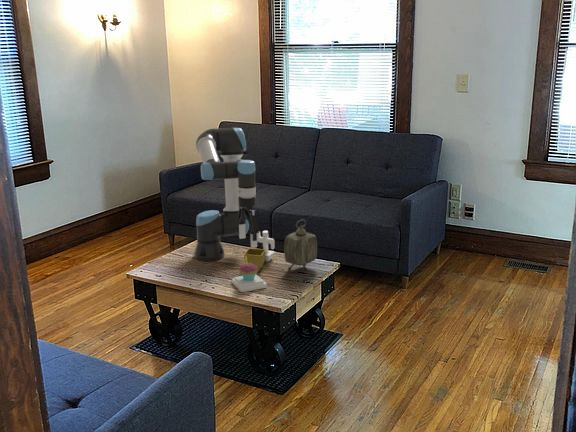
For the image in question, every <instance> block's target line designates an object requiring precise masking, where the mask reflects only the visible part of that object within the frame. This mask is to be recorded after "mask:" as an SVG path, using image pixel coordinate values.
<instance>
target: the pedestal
mask: <svg viewBox="0 0 576 432" xmlns="http://www.w3.org/2000/svg"><path fill="white" fill-rule="evenodd" d="M231 283H232V284H233V286H235V288H237V290H239V291H240V293H246V292H250V291H256V290H260V289H265V288H267V287H268V286H267V285H268V283H267V282H266V281H265V280H263V279H262V278H261V277H260V276H259V275H257V274H256V275H255V278H254V280H251V281H246V280H244V278H243V276H242V275H239V276H234V277H233V278H231Z"/></svg>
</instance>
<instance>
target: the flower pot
mask: <svg viewBox="0 0 576 432" xmlns="http://www.w3.org/2000/svg"><path fill="white" fill-rule="evenodd" d="M265 251H266V250H265V249H263V248H251V247H250V248H247V250H246V251H245V252H244V253H243V258H244V264H246V259H245V255H246V256H247V263H253V264H255V265H256V266H257V267H258V272H259V271H260V270H261V269H262V267H263V265H264V263H265V261H264V260H265Z"/></svg>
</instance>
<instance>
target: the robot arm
mask: <svg viewBox="0 0 576 432" xmlns="http://www.w3.org/2000/svg"><path fill="white" fill-rule="evenodd" d="M195 142H196V143H195V146H196V147H195V148H196V150H197V153H199V154H200V158H201V162H202V163H201V164H200V176H201V179H202V180H204V181H208V180H209V181H212V180H213V181H215V180H216V181H217V180H224V192H225V194H224V195H225V207H224V208H223V209H222V213H220V211H219V210H214V209H211V210H205V211H202V212H200V213H199V214H197V215H196V219H195V220H196V222H195V226H196V239H197V240H196V241H197V243H196V246H195V250H194V255H193V256H194V258H195V260H197V261H200V262H215V261H220V260H221V259H223V258H224V257H225V250H224V247H223V245H222V242H221V237H231V236H238V237H239V239H240V240H241V239H246V234H247V233H249V230H250V233H249V234H250V248H251V249H256V248H257V247H258V241H257V233H259V231H260V228H259V224H258V218H257V210H256V209H254V208H253V207H254V206H256V205H257V197H256V195H257V194H256V192H257V189H256V163H255V161H254V160H251V159H242V157H243V156H244V152H246V151H247V141H246V137H245V133H244V131H243V129H242V128H241V127H223V128H222V127H221V128H220V127H219V128H208V129H206V130H204V131H203V132H202V133H201V134H199V136H198V137H197V139H196V141H195ZM218 153H219V155H218ZM219 156H220V157H221V158H222V159H223V161H221V160H220V157H219Z"/></svg>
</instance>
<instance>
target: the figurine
mask: <svg viewBox="0 0 576 432" xmlns="http://www.w3.org/2000/svg"><path fill="white" fill-rule="evenodd" d="M257 243H261V244H262V249H265V250H266V251H265V260H264V262H269V261H271V260H272V259H273V257H274V255H275V253H276V251H274V249H275V247H276V246H275V239H274V238H271V237H269V231H268V230H263V231H262V236H261V231H260V230H259V233H257ZM269 244H270V249H271V250H269Z"/></svg>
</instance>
